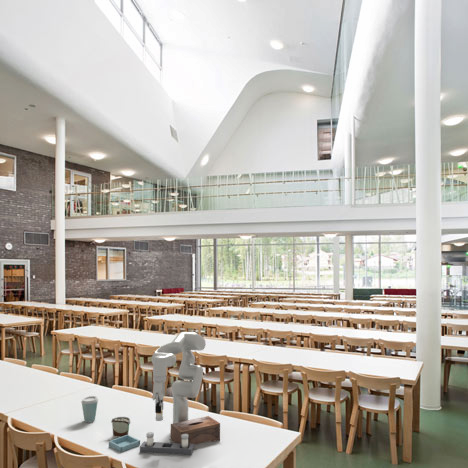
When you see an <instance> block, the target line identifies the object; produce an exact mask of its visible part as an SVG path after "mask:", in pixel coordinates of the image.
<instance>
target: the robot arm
mask: <svg viewBox="0 0 468 468" xmlns="http://www.w3.org/2000/svg"><path fill="white" fill-rule="evenodd" d="M205 348H206V340H205V338H204V337H203V336H202V335H200V334H199V333H197V332H194V331H193V332H191V331H181V332H179V334H177V336H176V337H174V339H173V340H172V341H171V342H168V343H166V344H164V345H161V346H160V347H158V348H157V349H156V350H155V351H154V352H153V354H152V356H151V363H152V365H153V367H152V381H153V386H152V387H153V388H152V400H153V401H154V404H155V406H154V407H155V414H156V413H161V402H162V403H164V397H165V395H166V382H167V368H171V367H173V366H174V365H175V364H176V363H177V356H176V355H179V354H180V353H181V354H182V357H181V358H182V360H181V362H180V366H179V370H178V378H179V379H178V380H175V381H173V383H172V384H171V393H172V402H173V403H172V424H173V423H178V422H183V421H187V420H189V402H188V399H187V398H192V399H193V398H197V397H198V395H199V394H200V389H201V385H202V381H203V376H204V369H203V366H202V365H199V364H195V363H196V357H195V354H194V353H193V351H204V349H205ZM170 433H171V429H170Z"/></svg>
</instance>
